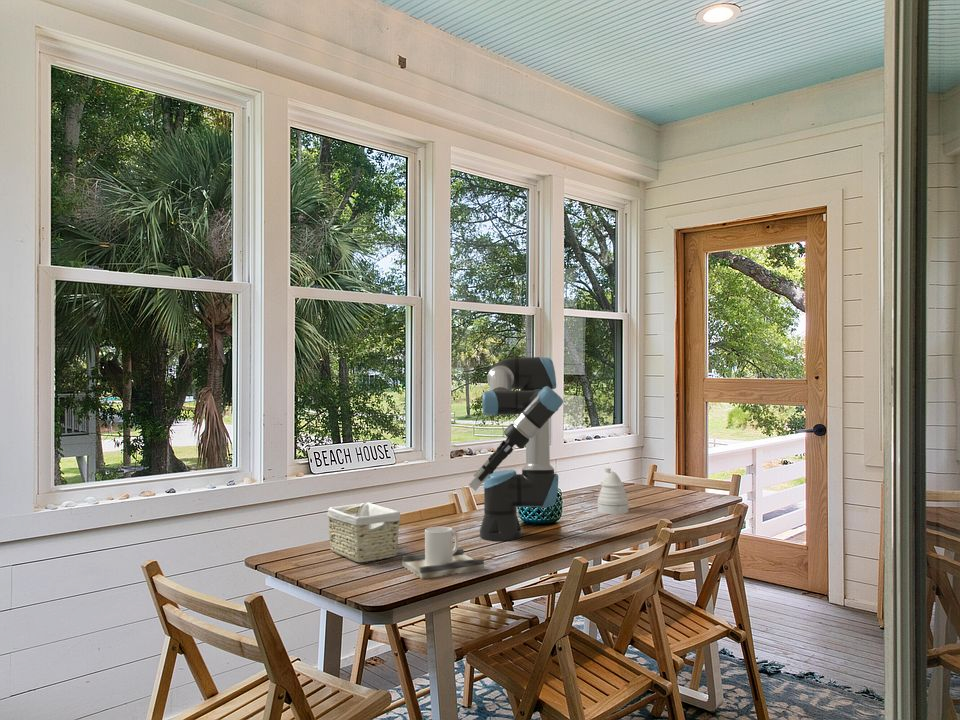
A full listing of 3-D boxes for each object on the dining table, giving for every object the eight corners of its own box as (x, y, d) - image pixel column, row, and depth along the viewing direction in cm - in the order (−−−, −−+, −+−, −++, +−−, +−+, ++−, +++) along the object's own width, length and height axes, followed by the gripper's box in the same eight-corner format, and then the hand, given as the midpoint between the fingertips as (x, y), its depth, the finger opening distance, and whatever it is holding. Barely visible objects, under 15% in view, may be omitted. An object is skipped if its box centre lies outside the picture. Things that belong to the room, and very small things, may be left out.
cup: (419, 563, 208) (419, 529, 209) (449, 556, 217) (448, 523, 217) (437, 568, 202) (437, 533, 203) (467, 560, 211) (467, 527, 211)
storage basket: (325, 550, 232) (325, 506, 232) (369, 543, 241) (369, 501, 242) (356, 566, 212) (356, 517, 213) (403, 557, 222) (402, 511, 222)
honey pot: (594, 513, 291) (594, 470, 292) (601, 507, 303) (600, 466, 303) (625, 515, 286) (624, 471, 287) (630, 509, 298) (630, 467, 299)
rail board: (461, 557, 221) (461, 548, 221) (484, 569, 206) (484, 559, 206) (402, 565, 212) (402, 555, 212) (421, 578, 197) (421, 568, 197)
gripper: (513, 417, 220) (469, 466, 222) (510, 427, 196) (460, 482, 197) (531, 433, 220) (486, 482, 222) (529, 445, 195) (480, 500, 197)
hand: (474, 482), depth 210 cm, fingers open, 13 cm apart
